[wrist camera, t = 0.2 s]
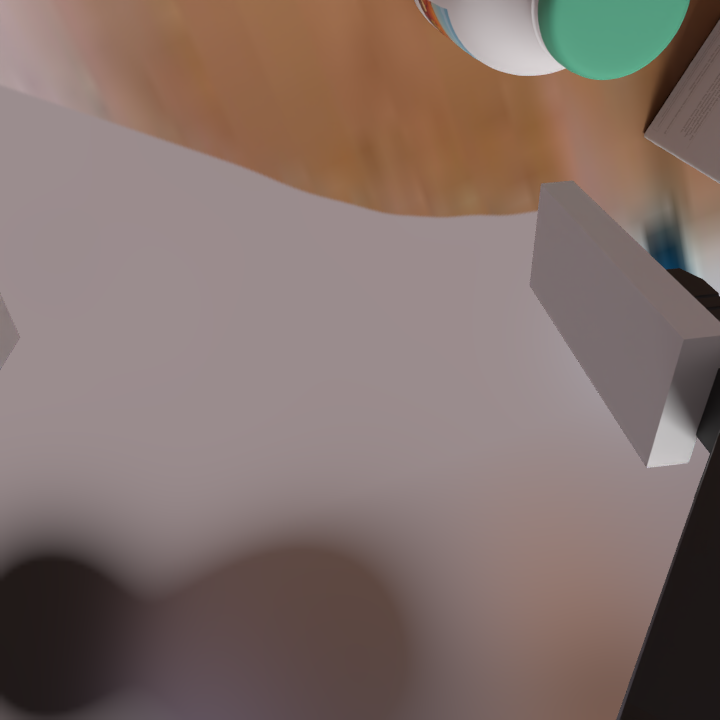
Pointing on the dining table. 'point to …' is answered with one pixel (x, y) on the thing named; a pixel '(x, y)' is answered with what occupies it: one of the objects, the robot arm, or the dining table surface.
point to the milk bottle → (559, 33)
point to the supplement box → (694, 112)
